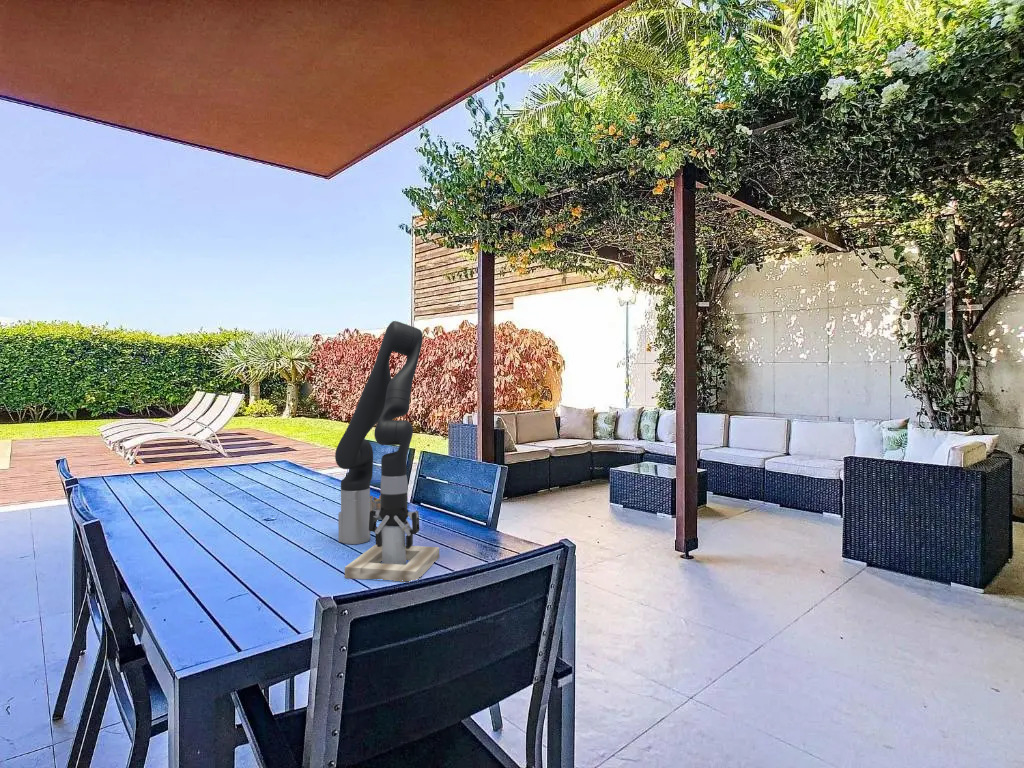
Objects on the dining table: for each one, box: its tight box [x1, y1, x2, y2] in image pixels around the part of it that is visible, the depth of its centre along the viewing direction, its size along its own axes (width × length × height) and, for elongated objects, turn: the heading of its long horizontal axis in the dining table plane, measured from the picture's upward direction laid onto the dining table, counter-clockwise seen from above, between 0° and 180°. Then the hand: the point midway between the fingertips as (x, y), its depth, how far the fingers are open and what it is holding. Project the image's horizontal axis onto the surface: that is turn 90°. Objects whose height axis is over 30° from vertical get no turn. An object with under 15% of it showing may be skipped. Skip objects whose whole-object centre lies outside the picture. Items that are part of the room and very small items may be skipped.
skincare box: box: [381, 524, 407, 565], centre depth 164 cm, size 6×4×12 cm
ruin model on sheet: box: [370, 494, 382, 520], centre depth 218 cm, size 11×3×10 cm, turn 33°
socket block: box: [344, 543, 440, 583], centre depth 164 cm, size 20×21×3 cm
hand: (394, 547), depth 164 cm, fingers open, 8 cm apart
